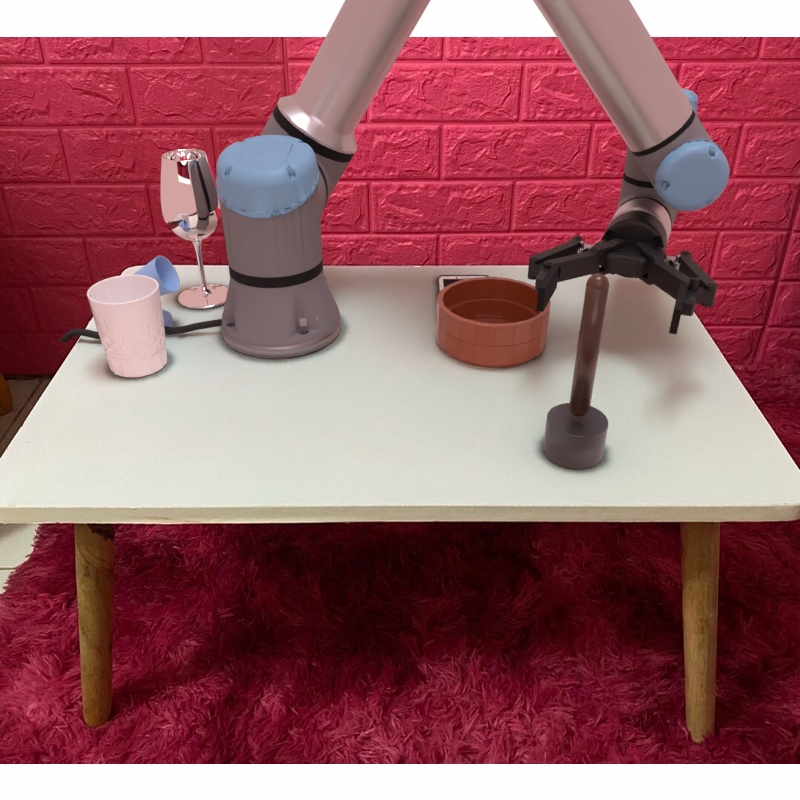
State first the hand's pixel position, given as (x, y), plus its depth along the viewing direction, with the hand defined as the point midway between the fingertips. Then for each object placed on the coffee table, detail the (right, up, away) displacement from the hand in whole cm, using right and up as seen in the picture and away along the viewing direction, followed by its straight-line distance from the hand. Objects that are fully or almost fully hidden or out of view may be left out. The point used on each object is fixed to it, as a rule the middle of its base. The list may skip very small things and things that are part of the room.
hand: (606, 310), depth 79 cm
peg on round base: (-3, -14, 0) cm, 15 cm away
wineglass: (-49, +5, +30) cm, 58 cm away
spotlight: (-53, 0, +23) cm, 57 cm away
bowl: (-10, -2, +19) cm, 21 cm away
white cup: (-53, -5, +15) cm, 55 cm away
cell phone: (-12, +4, +30) cm, 32 cm away
